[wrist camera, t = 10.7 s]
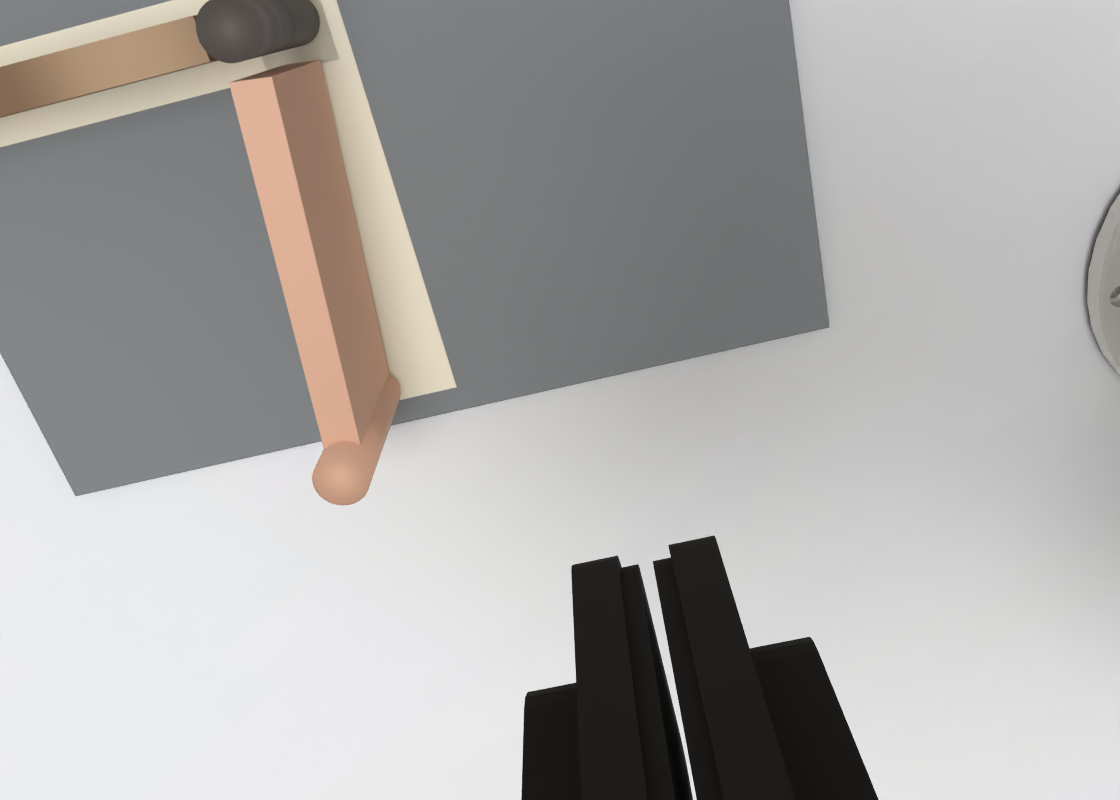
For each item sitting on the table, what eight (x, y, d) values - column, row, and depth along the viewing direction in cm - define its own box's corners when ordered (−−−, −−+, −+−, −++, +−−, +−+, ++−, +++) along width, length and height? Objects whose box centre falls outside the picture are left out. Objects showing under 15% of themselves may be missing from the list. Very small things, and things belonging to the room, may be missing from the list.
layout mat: (739, -373, 27) (741, -378, 26) (826, 323, 36) (829, 327, 35) (-225, -94, 29) (-236, -95, 29) (79, 491, 38) (75, 496, 38)
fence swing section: (275, 65, 31) (206, 87, 25) (329, 58, 31) (272, 78, 24) (359, 415, 36) (319, 508, 30) (404, 409, 36) (374, 501, 30)
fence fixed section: (309, -15, 30) (243, -15, 24) (327, 42, 31) (268, 58, 24) (-112, 97, 31) (-286, 128, 25) (-85, 149, 32) (-246, 193, 26)
